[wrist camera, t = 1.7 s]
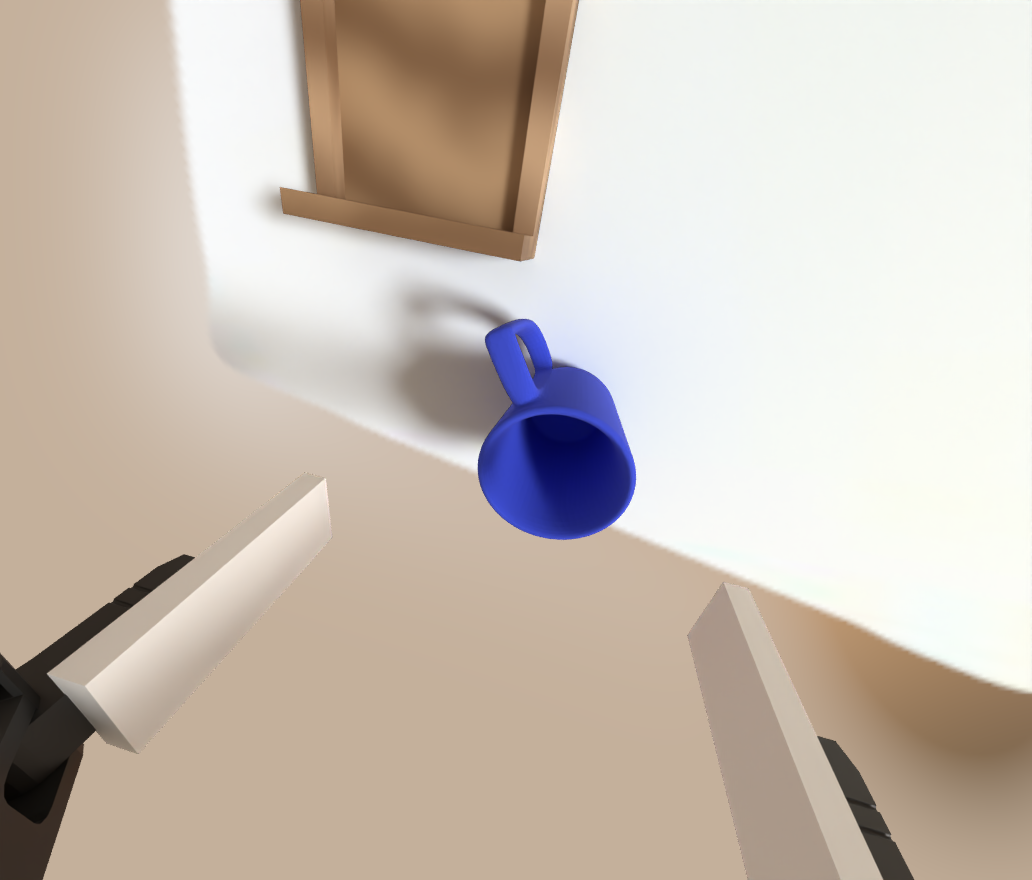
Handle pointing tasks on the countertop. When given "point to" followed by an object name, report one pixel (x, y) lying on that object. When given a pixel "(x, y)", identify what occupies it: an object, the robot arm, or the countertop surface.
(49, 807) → the robot arm
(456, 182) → the tray
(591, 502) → the mug
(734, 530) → the countertop surface
